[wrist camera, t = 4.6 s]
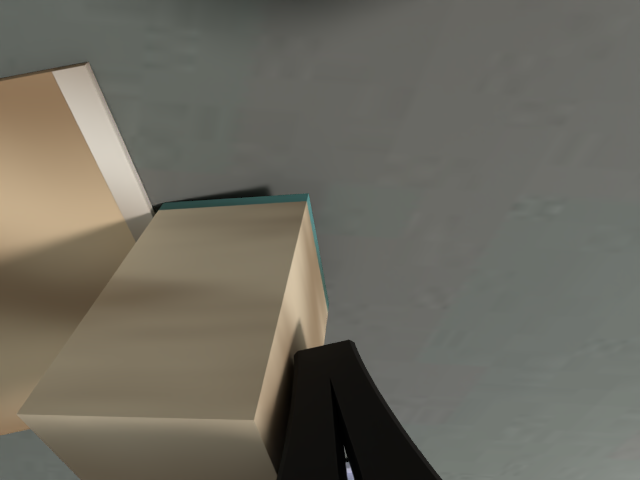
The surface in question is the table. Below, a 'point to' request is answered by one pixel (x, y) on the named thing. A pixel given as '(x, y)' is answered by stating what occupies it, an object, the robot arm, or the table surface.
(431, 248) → the table surface
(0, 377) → the tan flat rectangular panel
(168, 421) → the beech block
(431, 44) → the table surface
